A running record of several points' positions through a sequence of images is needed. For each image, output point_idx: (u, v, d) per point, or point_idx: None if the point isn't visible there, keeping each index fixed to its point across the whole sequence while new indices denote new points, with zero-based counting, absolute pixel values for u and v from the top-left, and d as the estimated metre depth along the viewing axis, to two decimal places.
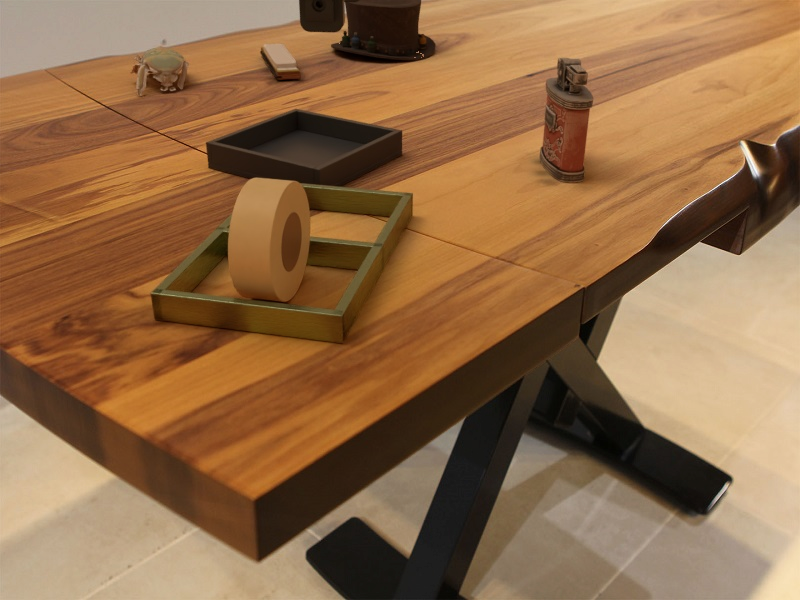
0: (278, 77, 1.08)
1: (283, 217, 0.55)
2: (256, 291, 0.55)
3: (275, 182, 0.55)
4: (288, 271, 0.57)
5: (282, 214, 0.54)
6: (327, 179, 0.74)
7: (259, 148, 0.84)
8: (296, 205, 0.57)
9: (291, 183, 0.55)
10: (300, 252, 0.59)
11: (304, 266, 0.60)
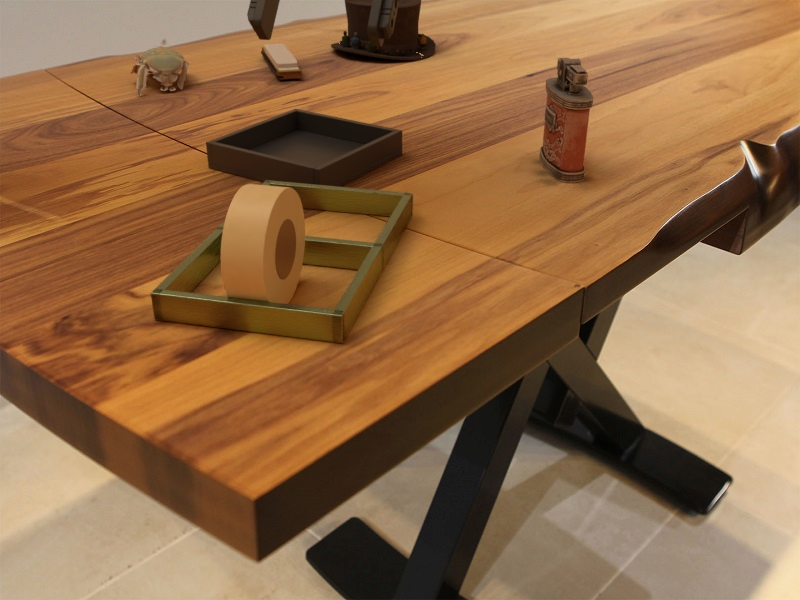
0: (279, 77, 1.08)
1: (274, 235, 0.53)
2: None
3: (263, 196, 0.53)
4: (285, 278, 0.56)
5: (272, 233, 0.53)
6: (327, 179, 0.74)
7: (259, 148, 0.84)
8: (287, 211, 0.55)
9: (279, 196, 0.53)
10: (296, 251, 0.58)
11: (302, 259, 0.59)
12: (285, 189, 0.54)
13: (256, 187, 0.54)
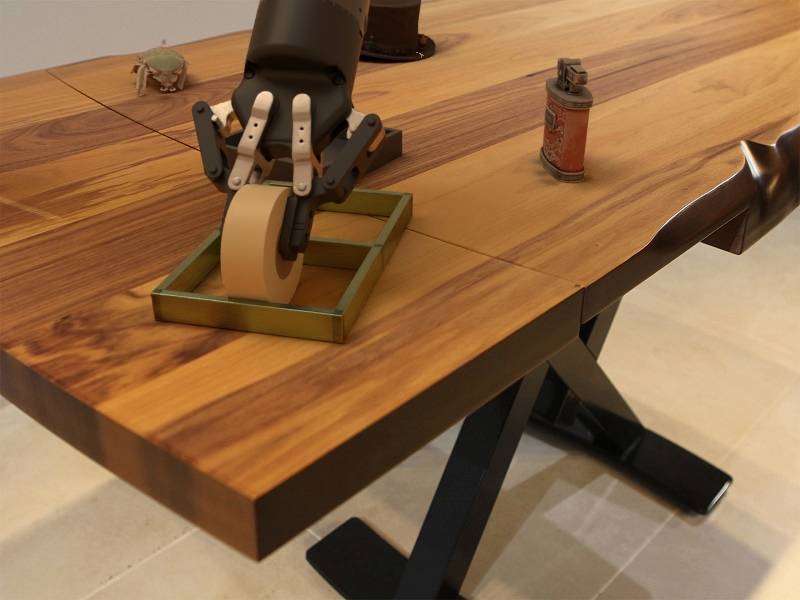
0: None
1: (274, 235, 0.53)
2: None
3: (262, 196, 0.53)
4: (285, 278, 0.56)
5: (272, 233, 0.53)
6: None
7: None
8: None
9: (279, 196, 0.53)
10: None
11: (302, 259, 0.59)
12: (285, 189, 0.54)
13: (256, 187, 0.54)
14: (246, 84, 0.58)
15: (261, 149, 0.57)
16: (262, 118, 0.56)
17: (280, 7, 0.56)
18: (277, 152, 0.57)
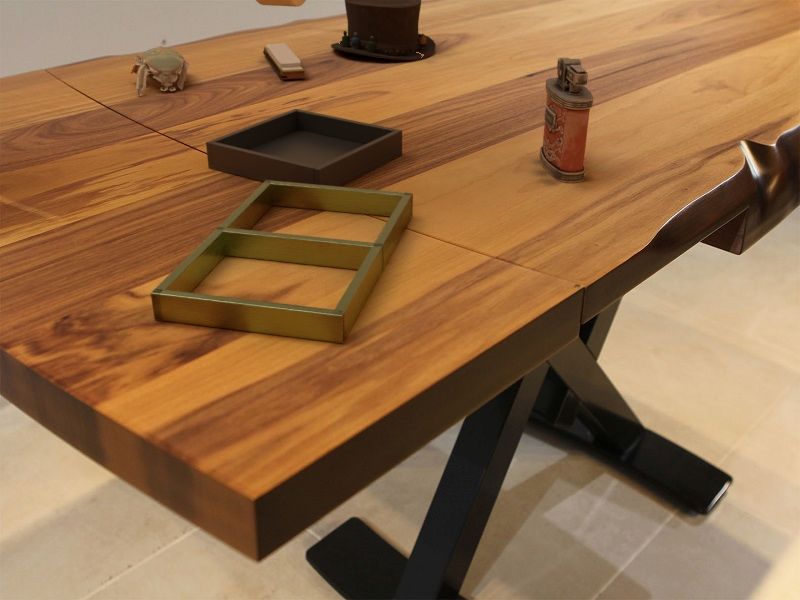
0: (283, 77, 1.08)
1: None
2: None
3: None
4: None
5: None
6: (327, 179, 0.74)
7: (259, 148, 0.84)
8: None
9: None
10: None
11: None
12: None
13: None
14: None
15: None
16: None
17: None
18: None
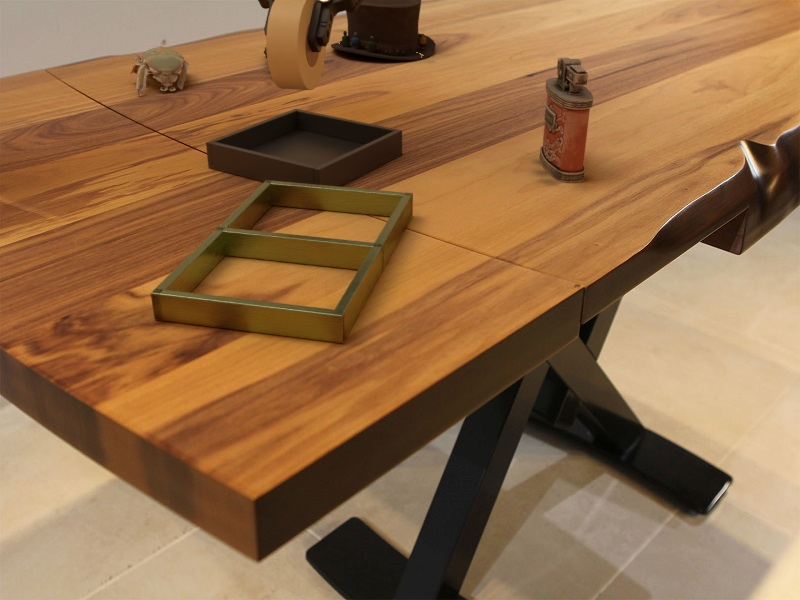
0: None
1: (305, 26, 0.73)
2: (290, 84, 0.75)
3: None
4: (312, 66, 0.76)
5: (304, 24, 0.73)
6: (327, 179, 0.74)
7: (259, 148, 0.84)
8: None
9: None
10: None
11: (323, 60, 0.79)
12: None
13: None
14: None
15: None
16: None
17: None
18: None
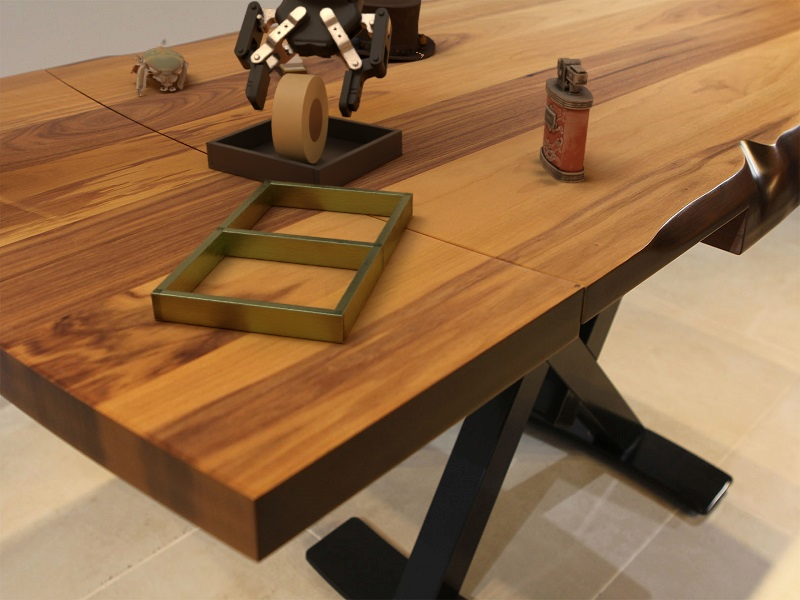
0: None
1: (308, 106, 0.76)
2: (294, 160, 0.78)
3: (300, 79, 0.76)
4: (315, 141, 0.79)
5: (307, 105, 0.76)
6: (327, 179, 0.74)
7: (259, 148, 0.84)
8: (316, 92, 0.78)
9: (311, 79, 0.76)
10: (322, 124, 0.81)
11: (326, 131, 0.82)
12: (315, 76, 0.77)
13: (295, 74, 0.77)
14: (286, 3, 0.81)
15: (297, 48, 0.80)
16: (292, 24, 0.79)
17: None
18: (308, 51, 0.80)
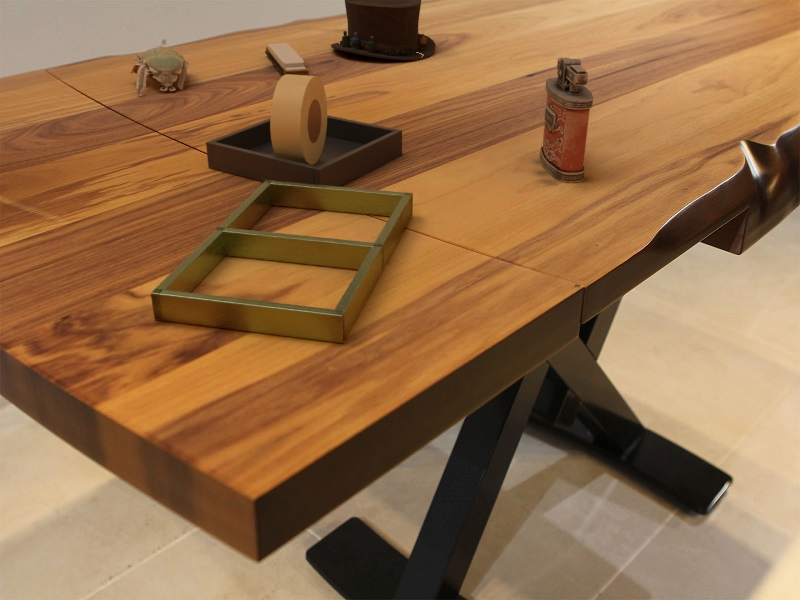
0: None
1: (306, 110, 0.76)
2: None
3: (297, 82, 0.76)
4: (315, 142, 0.79)
5: (305, 108, 0.76)
6: (327, 179, 0.74)
7: (259, 148, 0.84)
8: (314, 93, 0.78)
9: (309, 82, 0.76)
10: (321, 123, 0.80)
11: (325, 129, 0.82)
12: (313, 77, 0.77)
13: (292, 76, 0.77)
14: None
15: None
16: None
17: None
18: None
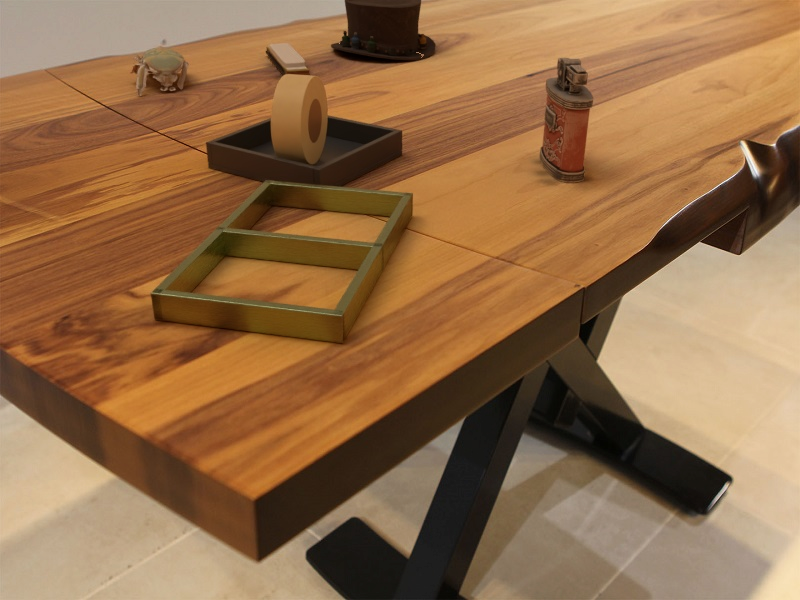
0: None
1: (307, 109, 0.76)
2: None
3: (298, 81, 0.76)
4: (315, 142, 0.79)
5: (306, 107, 0.76)
6: (327, 179, 0.74)
7: (259, 148, 0.84)
8: (315, 93, 0.78)
9: (310, 81, 0.76)
10: (321, 123, 0.81)
11: (325, 130, 0.82)
12: (314, 77, 0.77)
13: (293, 75, 0.77)
14: None
15: None
16: None
17: None
18: None
